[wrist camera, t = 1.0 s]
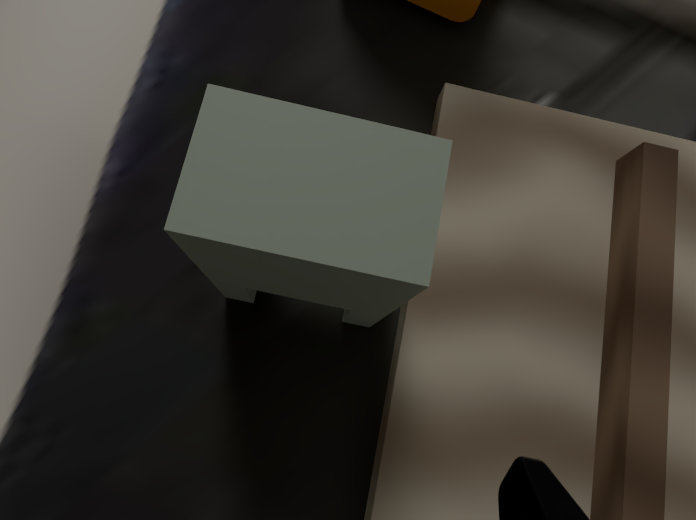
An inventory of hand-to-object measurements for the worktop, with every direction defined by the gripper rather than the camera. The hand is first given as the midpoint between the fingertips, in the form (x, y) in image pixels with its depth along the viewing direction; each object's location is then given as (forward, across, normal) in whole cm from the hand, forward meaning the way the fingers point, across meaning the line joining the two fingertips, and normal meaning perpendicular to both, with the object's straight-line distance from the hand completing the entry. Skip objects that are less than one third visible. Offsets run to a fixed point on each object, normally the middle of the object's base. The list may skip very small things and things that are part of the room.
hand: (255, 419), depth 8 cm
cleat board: (+13, -14, +5) cm, 20 cm away
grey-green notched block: (+13, 0, +5) cm, 14 cm away
